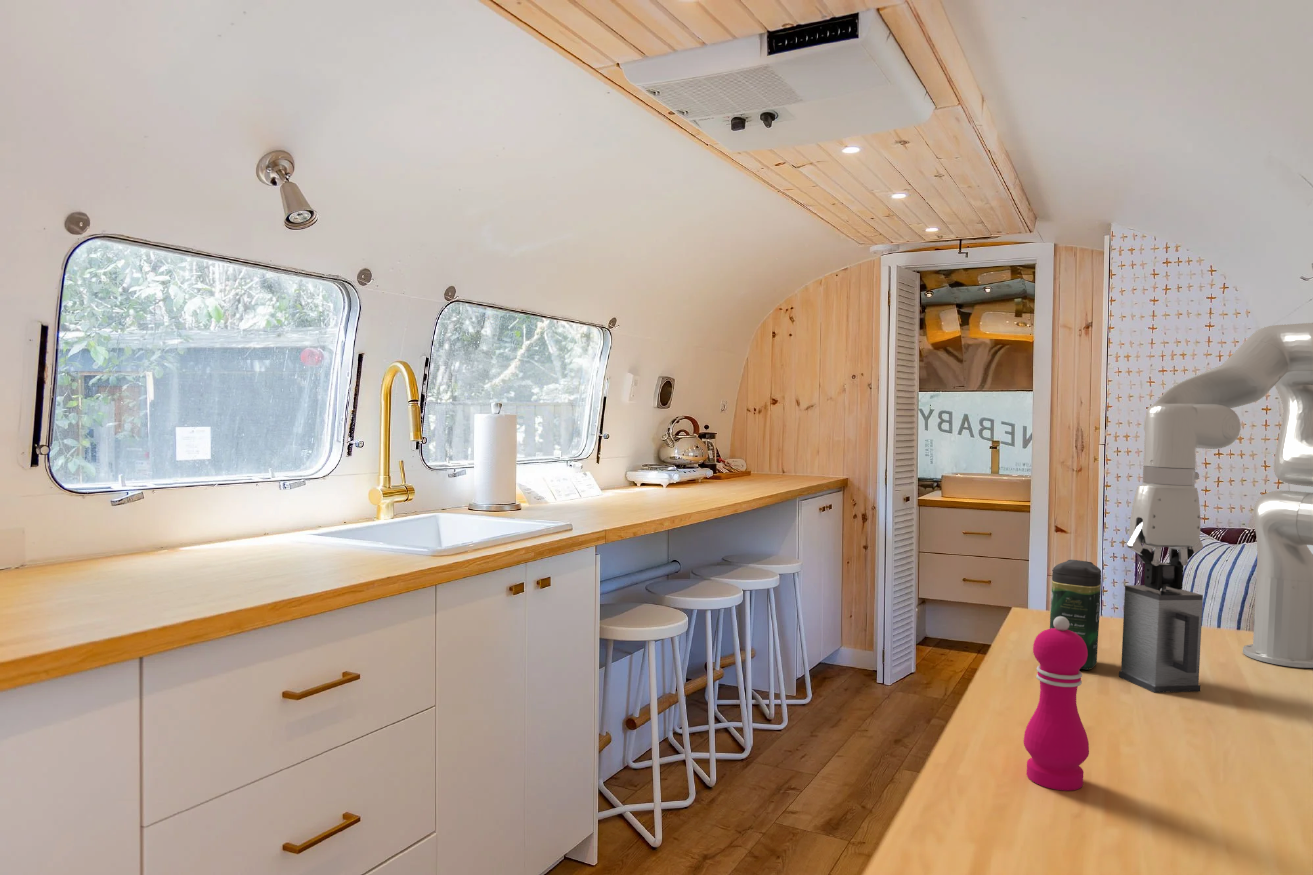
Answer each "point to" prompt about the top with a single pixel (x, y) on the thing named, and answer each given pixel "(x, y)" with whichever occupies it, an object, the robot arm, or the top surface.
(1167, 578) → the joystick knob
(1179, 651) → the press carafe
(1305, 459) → the robot arm
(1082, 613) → the coffee jar
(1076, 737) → the pepper mill
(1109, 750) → the top surface
